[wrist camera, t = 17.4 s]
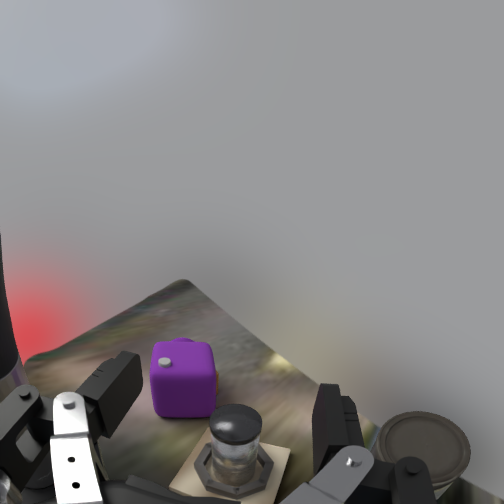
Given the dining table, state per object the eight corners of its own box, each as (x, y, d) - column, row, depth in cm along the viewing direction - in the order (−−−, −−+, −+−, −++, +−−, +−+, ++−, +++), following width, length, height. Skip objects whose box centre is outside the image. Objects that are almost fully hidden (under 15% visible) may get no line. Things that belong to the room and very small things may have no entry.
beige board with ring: (169, 489, 26) (167, 480, 26) (207, 431, 38) (207, 420, 37) (266, 521, 23) (269, 513, 23) (289, 453, 34) (292, 442, 34)
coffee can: (328, 489, 28) (363, 418, 25) (398, 475, 29) (442, 403, 25) (345, 552, 18) (400, 499, 15) (422, 529, 19) (487, 464, 15)
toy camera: (204, 368, 53) (204, 321, 51) (227, 417, 41) (230, 367, 39) (146, 373, 49) (142, 326, 47) (157, 427, 37) (150, 376, 34)
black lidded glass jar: (204, 477, 29) (200, 429, 26) (222, 449, 33) (222, 398, 31) (246, 491, 27) (251, 446, 24) (261, 461, 32) (268, 411, 29)
